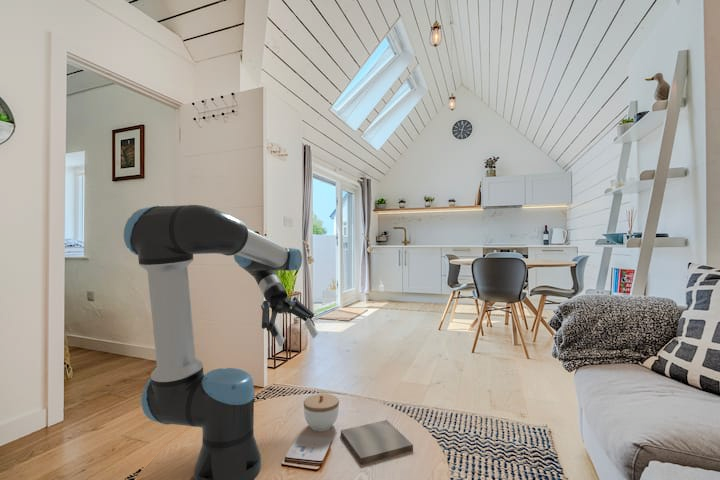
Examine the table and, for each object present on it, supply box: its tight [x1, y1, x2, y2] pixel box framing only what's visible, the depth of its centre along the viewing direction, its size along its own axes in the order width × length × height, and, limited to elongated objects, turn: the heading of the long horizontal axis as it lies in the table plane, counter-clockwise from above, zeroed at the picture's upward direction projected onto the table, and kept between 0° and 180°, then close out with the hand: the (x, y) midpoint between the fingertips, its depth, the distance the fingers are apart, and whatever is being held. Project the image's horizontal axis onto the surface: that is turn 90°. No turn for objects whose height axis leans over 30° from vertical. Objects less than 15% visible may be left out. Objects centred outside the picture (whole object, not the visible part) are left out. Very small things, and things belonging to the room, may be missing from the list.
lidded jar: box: [303, 393, 340, 432], centre depth 106 cm, size 11×11×9 cm
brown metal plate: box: [340, 419, 414, 465], centre depth 96 cm, size 15×15×2 cm
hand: (299, 339), depth 114 cm, fingers open, 13 cm apart
